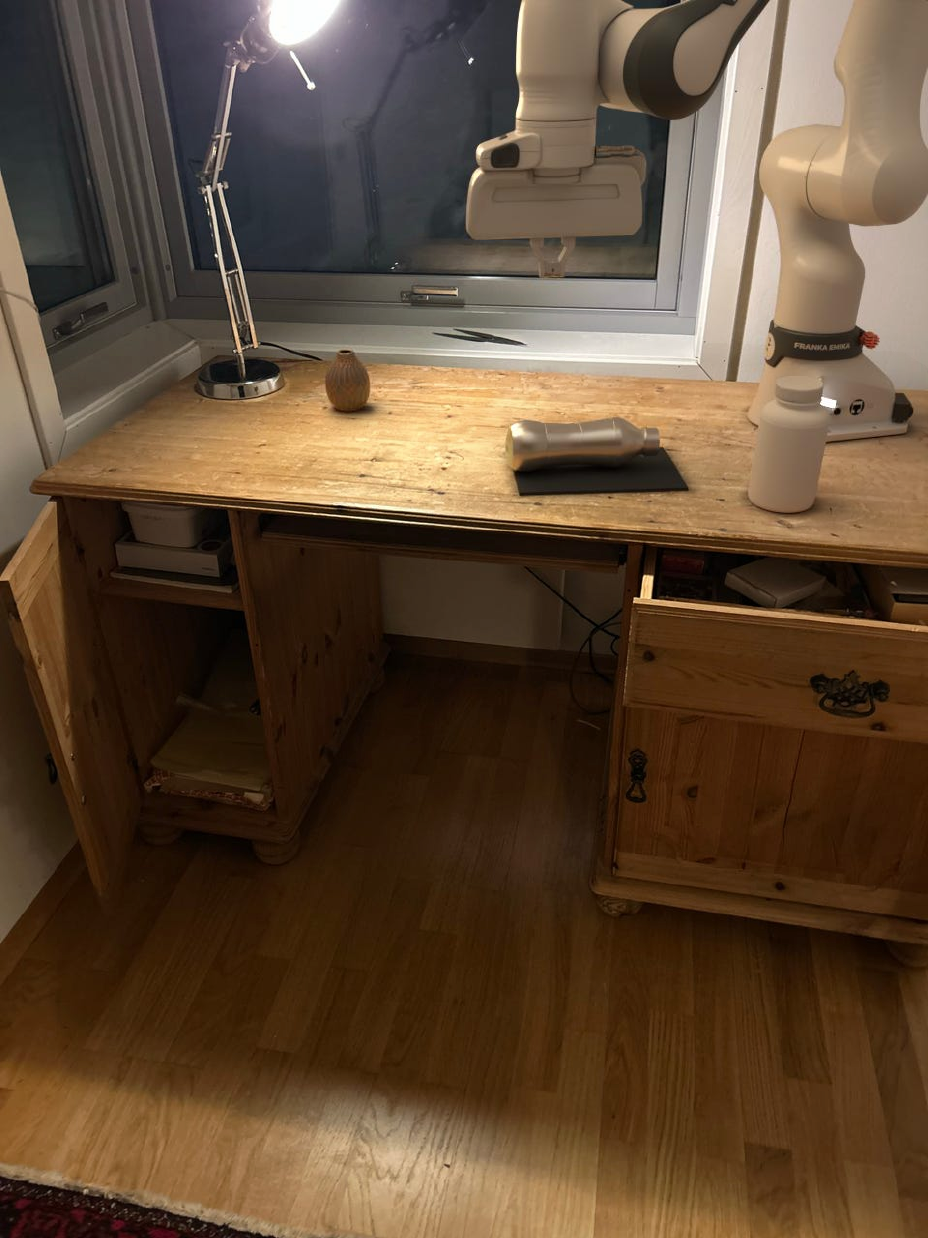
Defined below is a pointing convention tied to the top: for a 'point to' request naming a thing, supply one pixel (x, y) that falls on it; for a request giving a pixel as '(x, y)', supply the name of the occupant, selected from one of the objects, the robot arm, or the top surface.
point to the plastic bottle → (578, 443)
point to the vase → (347, 382)
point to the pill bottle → (789, 446)
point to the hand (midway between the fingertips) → (551, 276)
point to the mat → (604, 477)
